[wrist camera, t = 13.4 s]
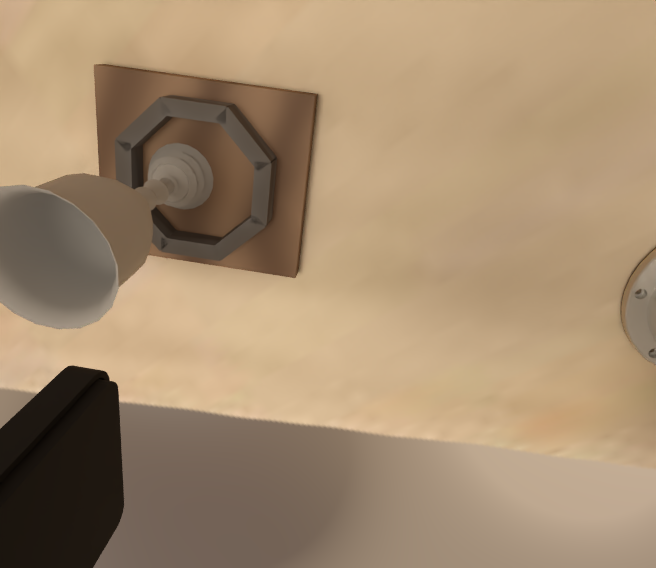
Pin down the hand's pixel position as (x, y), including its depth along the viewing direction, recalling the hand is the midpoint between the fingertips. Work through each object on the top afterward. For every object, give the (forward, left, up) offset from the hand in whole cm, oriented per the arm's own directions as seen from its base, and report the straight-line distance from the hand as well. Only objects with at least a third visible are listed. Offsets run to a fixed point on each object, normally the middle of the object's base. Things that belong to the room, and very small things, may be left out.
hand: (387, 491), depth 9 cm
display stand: (+14, +4, -34) cm, 37 cm away
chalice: (+15, +4, -33) cm, 36 cm away
